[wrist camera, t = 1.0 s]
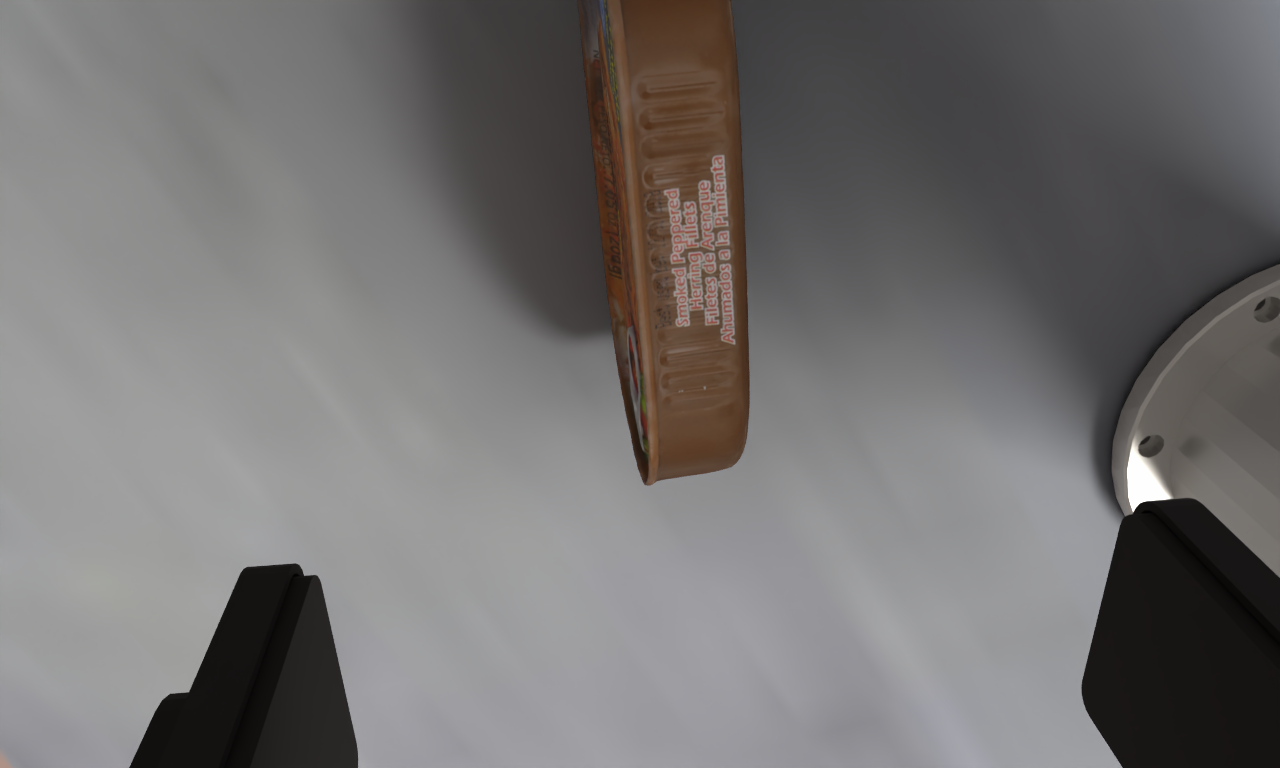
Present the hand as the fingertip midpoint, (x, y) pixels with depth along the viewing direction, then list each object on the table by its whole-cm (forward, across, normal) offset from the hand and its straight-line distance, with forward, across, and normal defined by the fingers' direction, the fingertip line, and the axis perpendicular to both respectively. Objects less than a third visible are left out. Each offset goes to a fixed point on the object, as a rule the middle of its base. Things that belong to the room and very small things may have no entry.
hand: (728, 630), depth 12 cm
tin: (+20, -1, 0) cm, 20 cm away
